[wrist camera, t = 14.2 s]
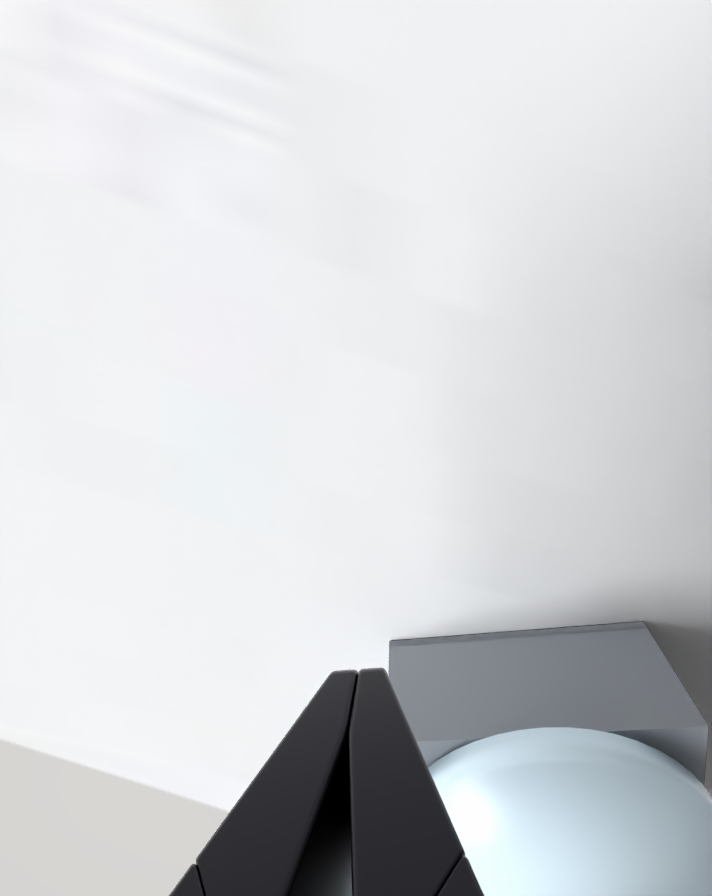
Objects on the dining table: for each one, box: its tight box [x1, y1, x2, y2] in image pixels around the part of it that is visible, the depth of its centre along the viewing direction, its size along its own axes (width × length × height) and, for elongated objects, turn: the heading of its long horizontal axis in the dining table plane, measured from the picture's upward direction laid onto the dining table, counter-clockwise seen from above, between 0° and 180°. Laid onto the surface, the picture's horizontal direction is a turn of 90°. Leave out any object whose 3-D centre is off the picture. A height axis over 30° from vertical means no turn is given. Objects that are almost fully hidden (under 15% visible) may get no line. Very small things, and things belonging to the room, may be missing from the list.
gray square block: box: [389, 622, 709, 785], centre depth 22 cm, size 10×10×5 cm
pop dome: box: [428, 727, 712, 896], centre depth 21 cm, size 11×11×5 cm
